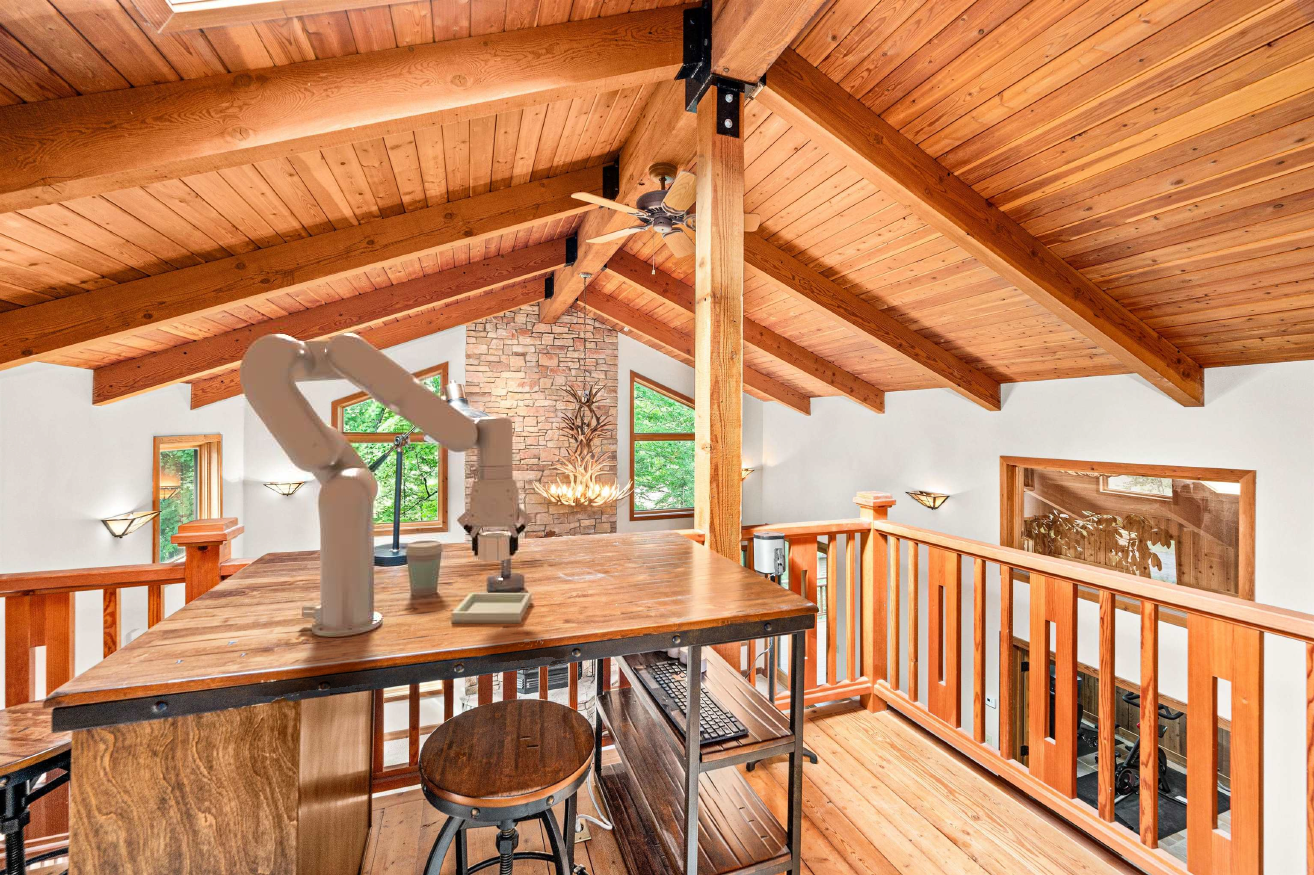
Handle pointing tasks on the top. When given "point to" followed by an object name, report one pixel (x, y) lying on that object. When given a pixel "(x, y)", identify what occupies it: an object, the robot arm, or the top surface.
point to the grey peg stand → (505, 580)
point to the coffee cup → (424, 566)
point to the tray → (492, 608)
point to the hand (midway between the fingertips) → (495, 553)
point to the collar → (494, 546)
